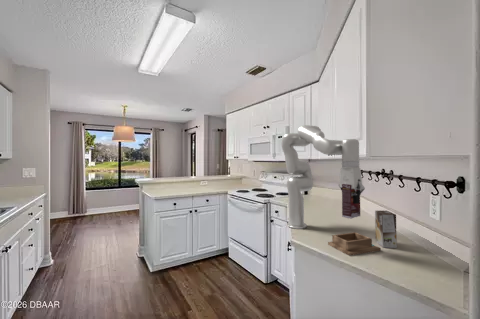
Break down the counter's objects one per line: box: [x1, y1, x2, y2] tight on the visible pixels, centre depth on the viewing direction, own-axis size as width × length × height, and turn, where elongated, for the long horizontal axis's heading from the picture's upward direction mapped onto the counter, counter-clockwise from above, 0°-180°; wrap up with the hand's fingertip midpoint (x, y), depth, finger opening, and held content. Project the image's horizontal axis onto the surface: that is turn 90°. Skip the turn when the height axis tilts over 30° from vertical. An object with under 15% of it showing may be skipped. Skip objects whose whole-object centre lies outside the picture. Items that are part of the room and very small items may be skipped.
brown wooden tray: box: [327, 231, 381, 257], centre depth 109 cm, size 14×18×5 cm
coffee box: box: [374, 210, 398, 249], centre depth 112 cm, size 9×6×16 cm
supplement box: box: [341, 184, 361, 219], centre depth 109 cm, size 9×5×16 cm, turn 125°
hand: (351, 201), depth 109 cm, fingers closed on supplement box, 5 cm apart
